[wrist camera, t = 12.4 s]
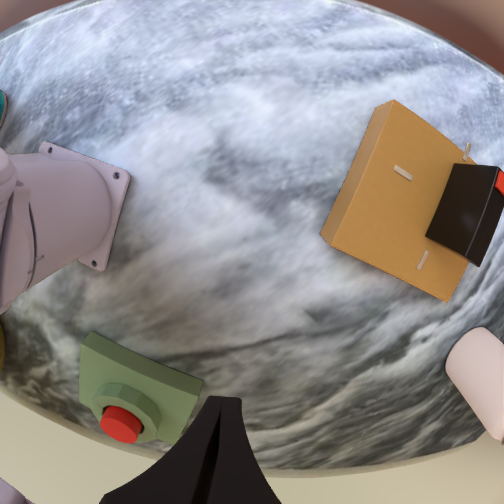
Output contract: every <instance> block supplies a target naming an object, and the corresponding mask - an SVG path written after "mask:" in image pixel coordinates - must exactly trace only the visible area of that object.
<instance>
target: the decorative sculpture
mask: <svg viewBox="0 0 504 504" xmlns="http://www.w3.org/2000/svg"><path fill="white" fill-rule="evenodd" d="M4 356H5V337H4V333H3V329H2V325H1V322H0V374H1V371H2V367H3V363H4Z"/></svg>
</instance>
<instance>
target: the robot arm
mask: <svg viewBox="0 0 504 504" xmlns="http://www.w3.org/2000/svg"><path fill="white" fill-rule="evenodd" d="M51 149H52V153H51ZM117 172H118V173H119V174H120V177H119V179H117V178H116V173H117ZM129 182H130V174H129V172H127V171H125V170H123V169H120V168H117V167H115V166H112V165H109V164H107V163H104V162H101V161H99V160H96V159H93V158H91V157H88V156H85V155H82V154H80V153H77V152H74V151H71V150H69V149H66V148H63V147H60V146H57V145H54V144H52V143H49V142H42V143H41V144H40V146H39V150H38V153H29V154H9V155H8V154H7V153H6V152H5V151H4V150H3V149H2V148H0V315H1V314H2V313H4V312H5V311H6V310H8V309H9V308H10V307H11V304H12V301H13V299H15V298H16V297H18V296H19V295H21V294H22V293H24V292H25V291H27V290H28V289H30V288H31V287H33V286H34V285H36V284H37V283H39V282H40V281H42V280H44V279H45V278H47V277H48V276H50V275H51V274H53V273H55V272H56V271H58V270H60V269H61V268H63V267H64V266H66V265H68V264H69V263H71V262H73V261H74V260H77V261H79V262H81V263H83V264H85V265H87V266H89V267H91V268H93V269H95V270H96V271H98V272H103V271H104V270H105V269H106V267H107V263H108V258H109V254H110V250H111V245H112V241H113V237H114V233H115V229H116V226H117V222H118V218H119V215H120V211H121V208H122V204H123V201H124V198H125V194H126V191H127V188H128V185H129ZM94 260H95V261H96V263H97V265H96V264H95V263H94ZM0 504H34V503H32V502H31V501H29V500H28V499H26V498H25V496H23V495H22V494H21V493H20V492H19V491H18V490H16V489H15V488H14V487H12V486H11V485H10V484H8V483H7V482H6V481H4V480H3V479H2V478H0ZM99 504H282V503H281V502H280V501H279V499H278V498H277V496H276V495H275V493H274V492H273V490H272V489H271V487H270V486H269V484H268V482H267V481H266V479H265V477H264V475H263V473H262V471H261V469H260V467H259V465H258V463H257V461H256V459H255V456H254V454H253V452H252V449H251V446H250V443H249V441H248V437H247V434H246V430H245V427H244V422H243V417H242V400H241V399H240V398H237V397H223V396H211V395H210V396H209V397H208V398H207V400H206V402H205V403H204V405H203V407H202V409H201V410H200V412H199V414H198V415H197V417H196V418H195V420H194V421H193V422H192V424H191V425H190V426H189V428H188V429H187V431H186V432H185V433H184V434H183V435H182V437H181V438H180V439H179V440H178V441H177V442H176V444H175V445H174V446H173V447H172V448H171V449H170V450H169V451H168V452H167V453H166V454H165V455H164V456H163V457H162V458H161V459H159V460H158V461H157V462H156V463H155V464H154V465H152V466H151V467H150V468H149V469H147V470H146V471H145V472H143V473H142V474H140V475H139V476H137V477H136V478H134V479H133V480H131V481H130V482H128V483H127V484H125V485H123V486H121V487H119V488H117V489H115V490H113V491H111V492H109V493H107V494H105V495H104V496H103V498H102V499H101V501H100V502H99Z"/></svg>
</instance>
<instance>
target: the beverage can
mask: <svg viewBox="0 0 504 504" xmlns="http://www.w3.org/2000/svg"><path fill="white" fill-rule="evenodd" d="M6 110H7V98H6V95H5V94H4V92H2V91H1V90H0V127H1V125H2V123H3V121H4V118H5V115H6Z"/></svg>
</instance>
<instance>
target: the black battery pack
mask: <svg viewBox="0 0 504 504" xmlns="http://www.w3.org/2000/svg"><path fill="white" fill-rule="evenodd" d="M503 208H504V172H503V171H502V170H501V169H500V168H499V167H497V166H487V165H475V164H460V163H454V165H453V168H452V170H451V173H450V176H449V179H448V181H447V184H446V187H445V189H444V192H443V194H442V197H441V199H440V202H439V204H438V207H437V209H436V211H435V214H434V216H433V218H432V221H431V223H430V225H429V227H428V230H427V232H426V234H425V237H426V238H428V239H429V240H431V241H432V242H434V243H436V244H437V245H439V246H440V247H442V248H444V249H446V250H448V251H450V252H452V253H454V254H456V255H457V256H459V257H461V258H463V259H465V260H466V261H468V262H470V263H472V264H474V265H475V266H477V267H480V265H481V263H482V260H483V258H484V256H485V254H486V251H487V249H488V247H489V245H490V242H491V240H492V237H493V235H494V232H495V230H496V227H497V224H498V222H499V219H500V216H501V213H502V211H503Z"/></svg>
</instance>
